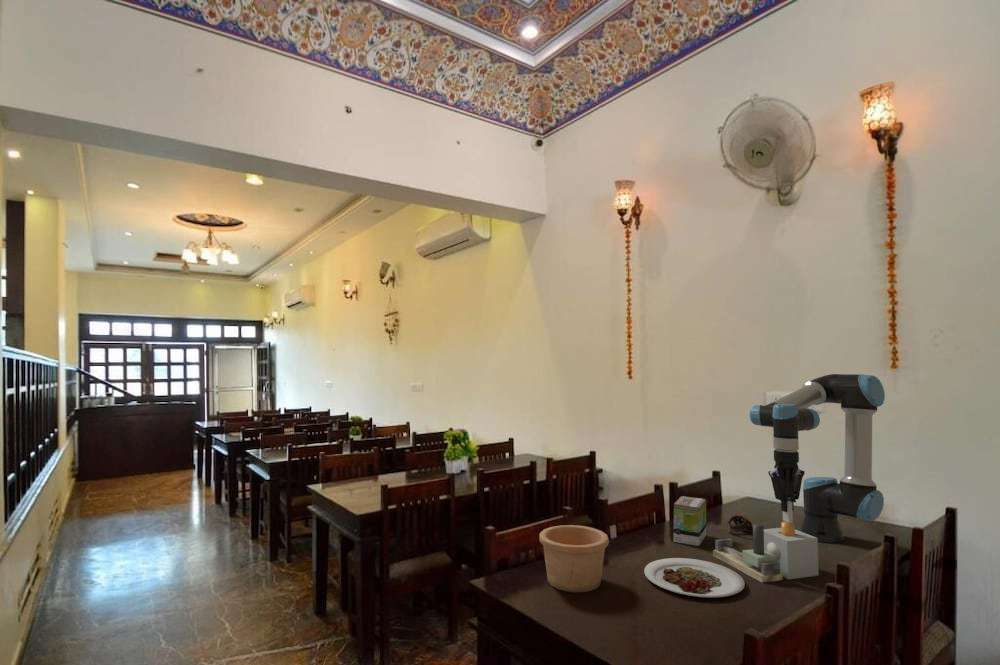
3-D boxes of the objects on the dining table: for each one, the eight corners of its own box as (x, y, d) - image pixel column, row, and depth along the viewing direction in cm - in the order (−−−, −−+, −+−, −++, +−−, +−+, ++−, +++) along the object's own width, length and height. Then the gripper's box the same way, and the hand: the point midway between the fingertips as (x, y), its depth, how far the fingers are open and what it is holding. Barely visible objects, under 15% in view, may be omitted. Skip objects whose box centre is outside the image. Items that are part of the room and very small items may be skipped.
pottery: (622, 581, 170) (621, 535, 171) (581, 603, 154) (580, 552, 155) (567, 563, 185) (567, 520, 186) (525, 581, 169) (525, 535, 170)
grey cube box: (789, 562, 186) (789, 526, 187) (818, 575, 174) (817, 538, 175) (759, 565, 183) (759, 529, 183) (787, 579, 171) (786, 541, 172)
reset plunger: (788, 546, 182) (788, 520, 182) (798, 550, 178) (797, 524, 178) (779, 547, 181) (778, 521, 181) (788, 551, 177) (787, 525, 177)
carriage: (760, 557, 180) (759, 521, 180) (776, 565, 173) (775, 527, 174) (742, 559, 178) (741, 522, 179) (757, 567, 171) (756, 529, 172)
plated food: (710, 561, 188) (709, 551, 188) (766, 598, 158) (766, 586, 158) (629, 566, 183) (629, 556, 183) (672, 606, 153) (672, 594, 153)
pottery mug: (760, 538, 212) (752, 521, 211) (737, 548, 213) (729, 531, 212) (748, 521, 224) (740, 505, 222) (726, 530, 225) (719, 514, 224)
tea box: (700, 547, 201) (699, 507, 202) (672, 542, 206) (672, 503, 207) (706, 535, 214) (706, 498, 215) (681, 531, 219) (680, 494, 220)
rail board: (732, 553, 194) (731, 538, 194) (782, 580, 171) (782, 562, 171) (713, 555, 192) (712, 540, 192) (761, 582, 169) (761, 564, 169)
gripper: (793, 447, 186) (794, 516, 185) (761, 449, 183) (763, 519, 181) (810, 451, 179) (812, 523, 178) (778, 452, 175) (780, 525, 174)
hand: (787, 521), depth 180 cm, fingers closed
